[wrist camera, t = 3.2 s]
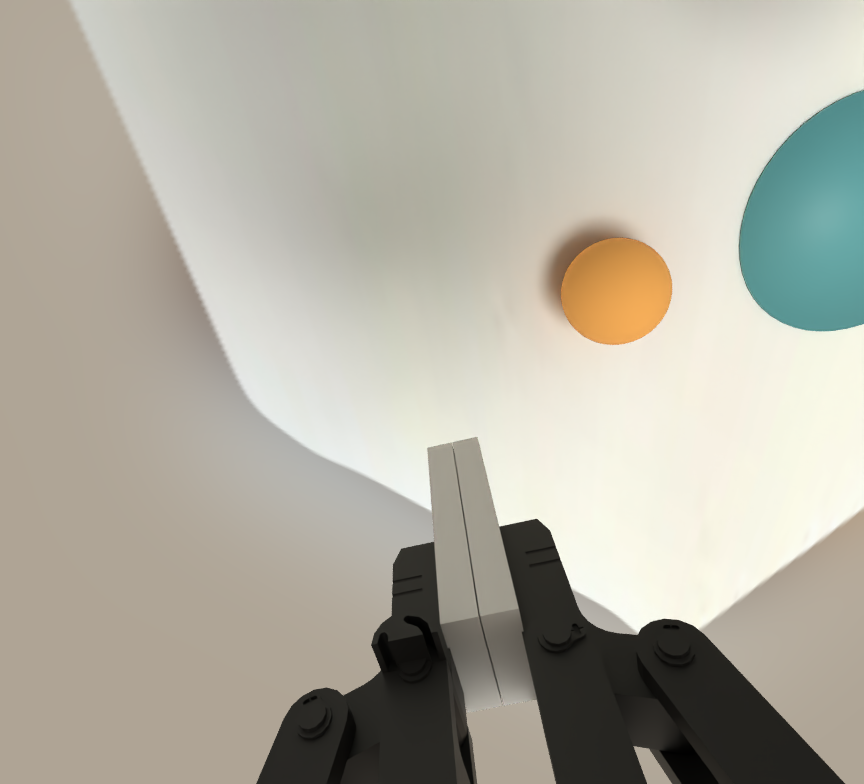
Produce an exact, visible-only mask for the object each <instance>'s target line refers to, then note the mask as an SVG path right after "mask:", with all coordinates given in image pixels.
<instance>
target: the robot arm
mask: <svg viewBox="0 0 864 784" xmlns="http://www.w3.org/2000/svg"><path fill="white" fill-rule="evenodd" d="M453 446H454V449H453ZM428 462H429V476H430V490H431V504H432V518H433V532H434V542H431V543H426V544H422V545H417V546H412V547H407V548H403V549H401V551H400V552H399V554H398V556H397V558H396V560H395V562H394V564H393V588H392V595H393V598H392V616H391V617H390V618H388V619H387V620H386V621H385V622H383V623H382V624H381V625H380V627H379V628H378V629H377V631H376V632H375V633H374V637H373V641H372V644H371V646H372V648H373V651H374V653H375V655H376V658H377V661H378V663H379V666H380V668H381V671H380V672H379V673H378V674H377V675H376V676H375V677H374V678H373V679H372V680H370V681H369V682H367V683H366V684H364V685H362V686H361V687H359V688H357V689H355V690H353V691H351V692H349V693H347V694H345V695H344V696H343V695H342V694H341V693H340V692H338V691H337V690H334V689H330V688H323V689H316V690H313V691H311V692H309V693H307V694H305V695H303V696H302V697H301V698H300V699H299V700H298V701H297V702H295V703H294V704H293V705H292V706H291V708H290V710H289V711H288V713H287V714H286V716H285V718H284V720H283V722H282V724H281V727H280V729H279V731H278V734H277V736H276V739H275V741H274V743H273V746H272V748H271V750H270V753H269V755H268V757H267V760H266V762H265V765H264V767H263V769H262V772H261V774H260V776H259V779H258V781H257V783H256V784H477V779H476V770H475V762H474V754H473V745H472V738H471V735H470V732H469V729H468V726H467V718H466V709H465V705H466V708H467V711H468V712H474V711H479V710H484V709H489V708H495V707H500V706H502V701H503V704H504V706H505V705H510V704H515V703H520V702H526V701H530V700H536V699H537V702H538V706H539V710H540V715H541V719H542V724H543V729H544V733H545V738H546V742H547V746H548V750H549V755H550V759H551V763H552V768H553V772H554V777H555V781H556V784H647V782H646V779H645V777H644V774H643V771H642V769H641V766H640V763H639V761H638V758H637V755H636V752H635V750H634V747H633V746H637V747H643V748H649V749H650V751H651V752H652V754H653V755H654V757H655V758H656V760H657V761H658V763H659V764H660V766H661V767H662V769H663V770H664V772H665V773H666V775H667V776H668V778H669V780H670V781H671V782H672V784H845V783H844V782H843V781H842V780H841V779H840V778H839V777H838V776H837V775H836V774H835V772H834V771H833V770H832V769H831V768H830V767H829V766H828V765H827V764H826V763H825V762H824V761H823V760H822V759H821V758H820V757H819V756H818V754H817V753H816V752H815V751H814V750H813V749H812V748H811V747H810V746H809V745H808V744H807V743H806V742H805V741H804V740H803V739H802V737H800V735H799V734H798V733H797V732H796V731H795V730H794V729H793V728H792V727H791V726H790V725H789V724H788V723H787V722H786V720H785V719H784V718H783V717H782V716H781V715H780V714H779V713H778V712H777V711H776V710H775V709H774V708H773V707H772V706H771V705H770V704H769V702H768V701H767V700H766V699H765V698H764V697H763V696H762V695H761V694H760V693H759V692H758V691H757V690H756V689H755V688H754V687H753V685H751V683H750V682H749V681H748V680H747V679H746V678H745V677H744V676H743V675H742V674H741V673H740V672H739V671H738V670H737V669H736V667H735V666H734V665H733V664H732V663H731V662H730V661H729V660H728V659H727V658H726V657H725V656H724V655H723V654H722V653H721V652H720V651H719V650H718V648H717V647H716V646H715V645H714V644H713V643H712V642H711V641H710V640H709V639H708V638H707V637H706V636H705V635H704V634H703V633H702V632H701V631H699V630H698V629H697V628H695V627H694V626H693V625H690V624H688V623H685V622H682V621H680V620H672V619H661V620H657V621H652V622H650V623H649V624H647V625H646V626H644V627H643V628H641V630H640V632H639V634H638V635H631V634H619V633H614V632H608V631H605V630H603V629H600V628H598V627H596V626H594V625H593V624H591V623H590V622H588V621H587V619H586V618H585V617H584V616H583V615H582V614H581V612H580V610H579V608H578V606H577V603H576V600H575V598H574V595H573V592H572V589H571V587H570V584H569V581H568V579H567V576H566V573H565V570H564V568H563V565H562V562H561V560H560V557H559V554H558V551H557V549H556V546H555V543H554V540H553V538H552V535H551V532H550V530H549V529H548V528H547V527H545V526H544V525H543V524H542V523H541V522H540V521H539V520H538V519H533V520H529V521H524V522H519V523H515V524H510V525H505V526H500V527H499V524H498V520H497V516H496V512H495V508H494V504H493V499H492V495H491V491H490V487H489V483H488V479H487V475H486V470H485V466H484V462H483V458H482V454H481V450H480V445H479V441H478V437H474V438H470V439H465V440H461V441H456V442H453V445H452V443H447V444H443V445H438V446H434V447H429V448H428ZM500 693H501V695H500ZM501 697H502V701H501Z"/></svg>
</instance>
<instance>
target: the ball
mask: <svg viewBox="0 0 864 784" xmlns="http://www.w3.org/2000/svg"><path fill="white" fill-rule="evenodd" d="M671 295H672V280H671V276H670V272H669V269H668V267H667V265H666V263H665V262H664V260H663V259H662V257H661V256H660V255H659V254H658V253H657V252H656V251H655V250H654V249H653V248H651V247H650V246H648V245H646V244H645V243H642V242H640V241H637V240H633V239H629V238H611V239H605V240H602V241H599V242H597V243H594V244H592V245H591V246H589V247H587V248H586V249H585V250H583V251H582V252H581V253H580V254H579V255H578V256H576V258H575V259H574V260H573V261H572V262H571V264H570V266H569V267H568V269H567V271H566V273H565V276H564V279H563V282H562V287H561V301H562V306H563V310H564V313H565V315H566V317H567V319H568V321H569V322H570V324H571V325H572V326H573V327H574V328H575V329H576V330H577V331H578V332H579V333H580V334H581V335H583V336H584V337H586V338H588V339H590V340H592V341H595V342H598V343H602V344H610V345H619V344H625V343H629V342H632V341H635V340H637V339H640V338H642V337H643V336H645V335H647V334H648V333H649V332H651V331H652V330H653V329H654V328H655V327H656V326H657V325H658V324H659V323H660V321H661V320H662V319H663V317H664V316H665V314H666V312H667V310H668V307H669V304H670V301H671Z"/></svg>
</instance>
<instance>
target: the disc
mask: <svg viewBox="0 0 864 784" xmlns="http://www.w3.org/2000/svg"><path fill="white" fill-rule="evenodd" d="M739 250H740V263H741V268H742V274H743V277H744V279H745V282H746V285H747V287H748V289H749V291H750V293H751V295H752V296H753V298H754V299H755V301H756V302H757V303H758V304H759V305H760V307H761V308H762V309H764V310H765V311H766V312H767V313H768V314H769V315H770V316H772V317H774V318H775V319H777V320H779V321H780V322H782V323H785V324H787V325H790V326H792V327H795V328H799V329H804V330H810V331H835V330H841V329H847V328H851V327H855V326H858V325H862V324H864V91H860V92H857V93H854V94H852V95H850V96H848V97H845V98H843V99H841V100H839V101H837V102H835V103H833V104H832V105H830V106H828V107H827V108H825V109H823V110H822V111H820V112H819V113H817V114H816V115H815V116H813V117H812V118H811V119H809V120H808V121H807V122H805V123H804V124H803V125H802V126H801V127H800V128H799V129H798V130H797V131H795V132H794V133H793V134H792V135H791V136H790V137H789V138H788V139H787V141H786V142H785V143H784V144H783V145H782V146H781V147H780V148H779V150H778V151H777V152H776V153H775V155H774V156H773V158H772V159H771V160H770V162H769V163H768V164H767V166H766V167H765V169H764V171H763V172H762V174H761V176H760V178H759V179H758V181H757V183H756V185H755V187H754V189H753V192H752V194H751V196H750V198H749V201H748V204H747V207H746V210H745V213H744V217H743V222H742V227H741V232H740V244H739Z"/></svg>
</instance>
